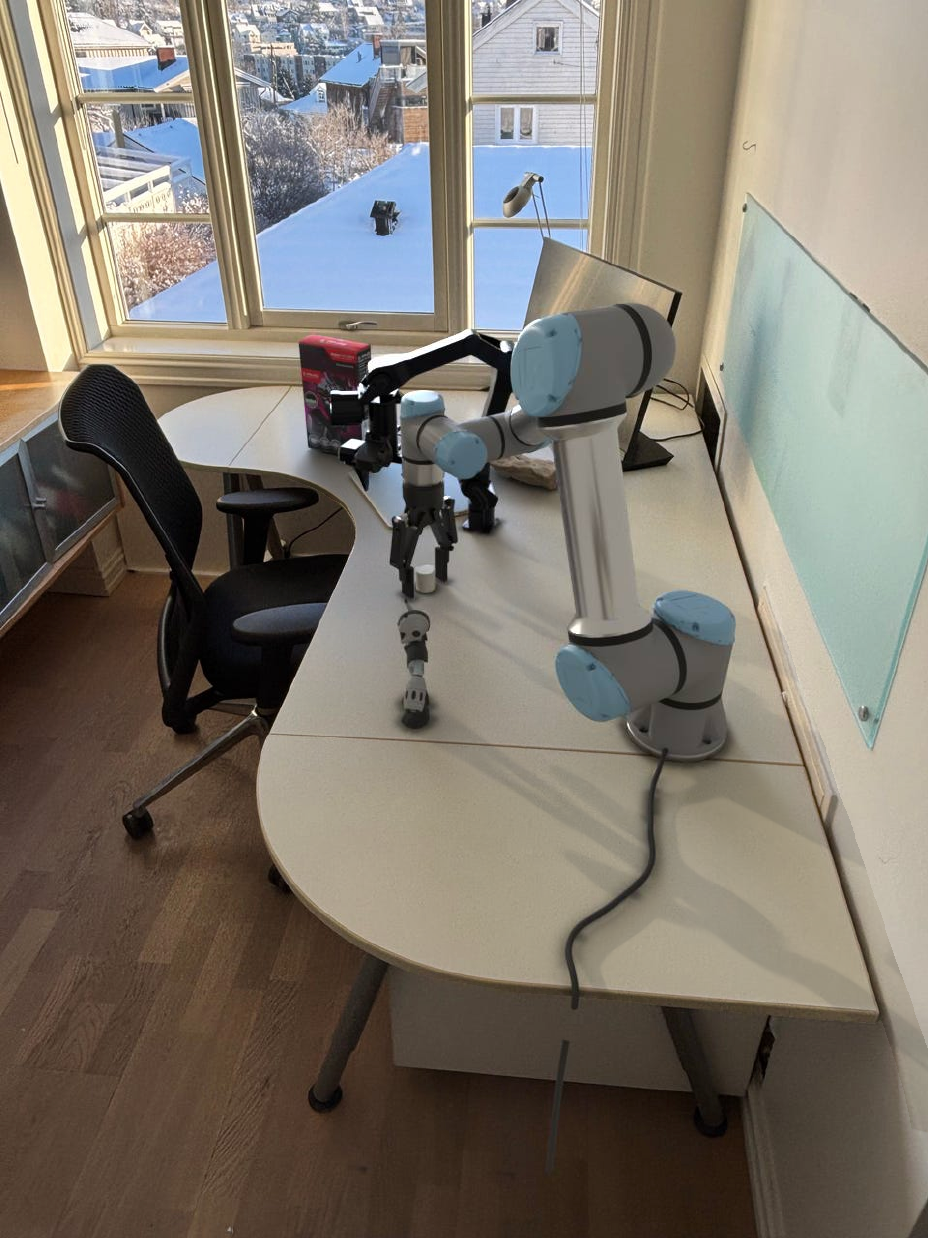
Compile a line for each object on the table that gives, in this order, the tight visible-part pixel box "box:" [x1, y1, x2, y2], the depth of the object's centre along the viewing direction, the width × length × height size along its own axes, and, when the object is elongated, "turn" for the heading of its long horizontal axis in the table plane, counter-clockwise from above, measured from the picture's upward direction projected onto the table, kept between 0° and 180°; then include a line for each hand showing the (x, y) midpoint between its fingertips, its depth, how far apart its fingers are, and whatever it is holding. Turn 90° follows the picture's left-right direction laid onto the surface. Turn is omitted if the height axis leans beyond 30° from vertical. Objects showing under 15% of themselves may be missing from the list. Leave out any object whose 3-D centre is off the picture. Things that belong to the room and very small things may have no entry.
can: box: [415, 564, 436, 594], centre depth 176 cm, size 4×4×4 cm
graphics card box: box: [297, 333, 372, 455], centre depth 223 cm, size 17×7×27 cm, turn 62°
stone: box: [490, 454, 558, 490], centre depth 217 cm, size 21×15×6 cm
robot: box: [396, 598, 431, 729], centre depth 141 cm, size 20×5×20 cm, turn 3°
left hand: (386, 494), depth 192 cm, fingers open, 9 cm apart
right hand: (424, 586), depth 177 cm, fingers open, 8 cm apart
